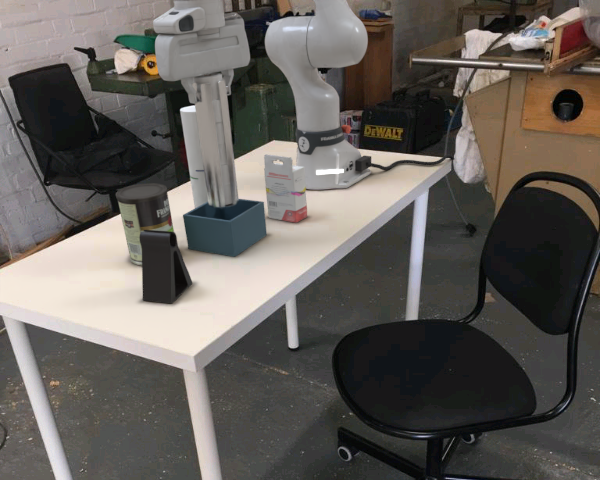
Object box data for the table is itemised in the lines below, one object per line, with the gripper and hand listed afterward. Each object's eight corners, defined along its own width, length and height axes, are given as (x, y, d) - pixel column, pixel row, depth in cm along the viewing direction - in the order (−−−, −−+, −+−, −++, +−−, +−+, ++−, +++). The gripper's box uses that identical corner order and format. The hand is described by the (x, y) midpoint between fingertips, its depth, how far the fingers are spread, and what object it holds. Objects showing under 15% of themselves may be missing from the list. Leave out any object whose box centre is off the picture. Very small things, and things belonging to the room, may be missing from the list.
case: (222, 228, 149) (217, 195, 145) (266, 235, 144) (263, 201, 140) (188, 249, 140) (182, 214, 136) (234, 256, 135) (230, 221, 131)
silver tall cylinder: (206, 209, 135) (187, 78, 120) (211, 199, 140) (194, 72, 126) (236, 208, 134) (222, 76, 120) (240, 198, 140) (227, 70, 125)
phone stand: (165, 281, 127) (154, 221, 120) (192, 283, 125) (182, 223, 118) (142, 301, 120) (129, 239, 113) (171, 304, 118) (159, 242, 111)
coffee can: (184, 247, 141) (173, 182, 133) (169, 266, 133) (156, 198, 125) (140, 246, 143) (126, 182, 135) (122, 265, 134) (107, 198, 126)
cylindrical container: (221, 225, 151) (206, 111, 136) (192, 225, 152) (175, 112, 138) (230, 215, 156) (216, 104, 142) (202, 214, 158) (186, 105, 143)
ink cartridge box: (308, 216, 152) (305, 152, 144) (296, 223, 149) (292, 158, 141) (279, 211, 157) (274, 149, 148) (267, 217, 154) (261, 154, 145)
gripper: (231, 10, 125) (239, 88, 133) (144, 23, 114) (159, 107, 122) (253, 11, 121) (260, 90, 129) (166, 23, 110) (179, 110, 118)
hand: (210, 99), depth 125 cm, fingers closed on silver tall cylinder, 6 cm apart
